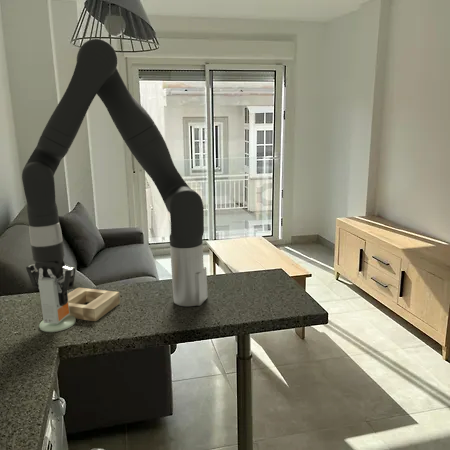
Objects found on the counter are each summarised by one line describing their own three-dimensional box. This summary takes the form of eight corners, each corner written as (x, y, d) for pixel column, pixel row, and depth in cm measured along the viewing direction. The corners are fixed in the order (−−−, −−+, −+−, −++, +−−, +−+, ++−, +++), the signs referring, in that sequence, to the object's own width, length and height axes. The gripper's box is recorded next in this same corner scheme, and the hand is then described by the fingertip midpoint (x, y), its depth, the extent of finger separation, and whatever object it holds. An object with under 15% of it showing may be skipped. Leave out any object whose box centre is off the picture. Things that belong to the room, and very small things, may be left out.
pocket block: (120, 303, 128) (118, 292, 127) (95, 321, 117) (94, 309, 116) (79, 298, 132) (78, 287, 132) (52, 315, 121) (50, 303, 121)
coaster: (82, 318, 119) (82, 316, 119) (60, 334, 111) (60, 331, 110) (55, 314, 122) (55, 312, 122) (31, 329, 113) (31, 327, 113)
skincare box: (58, 324, 112) (52, 280, 110) (43, 323, 113) (37, 279, 110) (71, 314, 118) (65, 272, 115) (56, 313, 119) (50, 271, 116)
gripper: (79, 238, 112) (87, 300, 116) (34, 235, 116) (43, 295, 120) (60, 247, 105) (68, 312, 109) (12, 243, 109) (22, 306, 114)
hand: (55, 303), depth 115 cm, fingers closed on skincare box, 4 cm apart
